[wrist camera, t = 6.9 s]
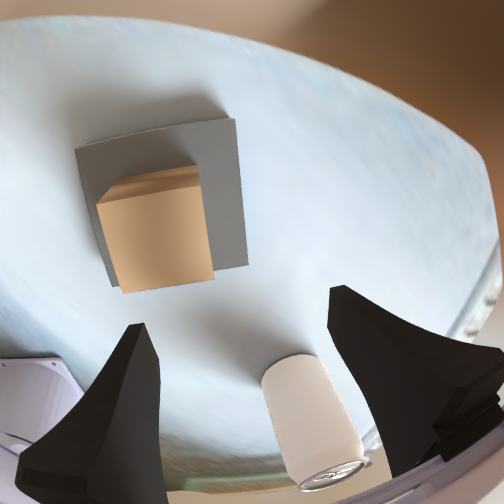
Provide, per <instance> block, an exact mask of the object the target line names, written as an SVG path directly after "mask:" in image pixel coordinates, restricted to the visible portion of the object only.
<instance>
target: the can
mask: <svg viewBox="0 0 504 504" xmlns="http://www.w3.org/2000/svg"><path fill="white" fill-rule="evenodd" d="M261 386H262V390H263V394H264V397H265V401H266V404H267V408H268V411H269V414H270V418H271V421H272V424H273V428H274V431H275V434H276V438H277V441H278V444H279V447H280V451H281V454H282V457H283V460H284V463H285V466H286V469H287V472H288V474H289V476H290V477H291V478H292V479H293V480H294V481H295V482H296V483H297V484H298V489H299V490H300V491H315V490H320V489H324V488H327V487H330V486H333V485H336V484H338V483H341V482H343V481H345V480H347V479H349V478H351V477H353V476H354V475H356V474H357V473H358V472H360V471H361V470H362V469H363V468H364V467H365V465H366V462H365V461H364V460H363V453H364V447H363V444H362V442H361V439H360V437H359V435H358V433H357V431H356V429H355V427H354V425H353V423H352V421H351V419H350V417H349V415H348V413H347V410H346V408H345V406H344V404H343V402H342V400H341V398H340V396H339V394H338V392H337V390H336V388H335V386H334V384H333V382H332V380H331V378H330V376H329V374H328V372H327V371H326V369H325V367H324V365H323V363H322V361H321V360H320V359H319V358H317V357H315V356H311V355H308V354H295V355H291V356H287V357H285V358H282V359H280V360H278V361H277V362H275V363H274V364H272V365H271V366H270V367H269V368H268V369H267V371H266V372H265V374H264V375H263V377H262V380H261Z"/></svg>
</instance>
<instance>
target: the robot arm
mask: <svg viewBox="0 0 504 504" xmlns="http://www.w3.org/2000/svg"><path fill="white" fill-rule="evenodd" d="M327 328H328V330H329V333H330V335H331V337H332V340H333V342H334V344H335V347H336V349H337V350H338V352H339V354H340V355H341V357H342V359H343V361H344V362H345V364H346V366H347V367H348V369H349V371H350V372H351V374H352V376H353V377H354V379H355V381H356V382H357V384H358V386H359V387H360V389H361V391H362V393H363V395H364V397H365V399H366V402H367V404H368V406H369V409H370V411H371V413H372V416H373V418H374V421H375V424H376V426H377V429H378V431H379V434H380V437H381V440H382V443H383V446H384V449H385V452H386V456H387V459H388V463H389V466H390V470H391V474H392V478H393V479H392V480H390V481H388V482H385V483H383V484H381V485H378V486H376V487H374V488H372V489H369V490H367V491H364V492H362V493H359V494H356V495H354V496H351V497H348V498H346V499H343V500H340V501H337V502H334V503H331V504H384V503H386V502H389V501H391V500H393V499H395V498H397V497H399V496H401V495H403V494H405V493H407V492H409V491H411V490H413V489H414V490H413V491H412V492H410V493H409V494H407V495H405V496H404V497H402V498H400V499H398V500H396V501H395V502H393V503H391V504H477V503H479V502H480V501H481V500H482V499H483V498H485V497H486V496H487V495H488V494H489V493H490V492H492V491H493V490H494V489H495V488H496V487H497V486H498V485H499V484H500V483H501V482H502V481H504V405H503V406H502V407H500V406H499V404H498V402H499V401H500V397H499V396H498V395H497V391H498V390H499V389H500V387H501V386H502V385H503V383H504V352H503V351H502V350H501V349H500V348H495V347H488V346H480V345H474V344H470V343H465V342H461V341H457V340H454V339H450V338H447V337H444V336H441V335H438V334H435V333H432V332H430V331H427V330H425V329H423V328H420V327H418V326H416V325H413V324H411V323H409V322H407V321H405V320H403V319H401V318H399V317H397V316H396V315H394V314H392V313H390V312H388V311H387V310H385V309H383V308H381V307H380V306H378V305H376V304H375V303H373V302H372V301H370V300H368V299H367V298H365V297H363V296H362V295H360V294H359V293H357V292H355V291H354V290H352V289H350V288H349V287H347V286H345V285H341V286H336V287H332V288H330V295H329V310H328V322H327ZM160 384H161V381H160V366H159V358H158V356H157V354H156V351H155V349H154V347H153V344H152V342H151V339H150V337H149V334H148V332H147V329H146V327H145V324H144V323H139V324H132V325H129V326H128V327H127V329H126V331H125V332H124V334H123V335H122V337H121V339H120V341H119V342H118V344H117V346H116V347H115V349H114V351H113V352H112V354H111V356H110V357H109V359H108V360H107V362H106V364H105V365H104V367H103V368H102V370H101V371H100V373H99V374H98V376H97V377H96V379H95V380H94V382H93V383H92V385H91V386H90V387H89V389H88V390H87V391H86V393H84V392H83V390H82V389H81V387H80V386H79V384H78V383H77V382H76V380H75V379H74V377H73V376H72V374H71V373H70V371H69V370H68V368H67V366H66V365H65V363H64V362H63V360H62V359H60V358H57V357H56V358H32V359H0V504H169V503H168V498H167V493H166V488H165V483H164V477H163V471H162V464H161V456H160V447H159V406H160Z"/></svg>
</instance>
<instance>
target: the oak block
mask: <svg viewBox="0 0 504 504" xmlns="http://www.w3.org/2000/svg"><path fill="white" fill-rule="evenodd" d="M96 206H97V210H98V214H99V218H100V221H101V225H102V229H103V233H104V236H105V240H106V243H107V247H108V250H109V253H110V257H111V260H112V263H113V266H114V269H115V272H116V275H117V278H118V281H119V284H120V287H121V290H122V293H123V294H124V293H131V292H138V291H144V290H151V289H157V288H164V287H170V286H177V285H183V284H189V283H196V282H202V281H208V280H214V273H213V267H212V261H211V255H210V248H209V242H208V235H207V228H206V222H205V215H204V208H203V200H202V193H201V186H200V179H199V172H198V166H197V165H192V166H186V167H180V168H174V169H168V170H162V171H156V172H151V173H146V174H140V175H135V176H130V177H125V178H120V179H118V180H117V181H116V182H115V183H114V184H113V185H112V186H111V188H110V189H109V190H108V191H107V192H106V193H105V195H104V196H103V197H102V198H101V199H100V201H99V202H98V203H97V204H96Z"/></svg>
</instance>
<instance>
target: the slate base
mask: <svg viewBox="0 0 504 504" xmlns="http://www.w3.org/2000/svg"><path fill="white" fill-rule="evenodd" d="M75 153H76V158H77V163H78V168H79V173H80V177H81V182H82V186H83V190H84V195H85V199H86V203H87V207H88V210H89V214H90V218H91V222H92V225H93V229H94V232H95V236H96V239H97V242H98V246H99V249H100V252H101V255H102V258H103V262H104V265H105V268H106V271H107V274H108V277H109V279H110V282H111V285H112V287H116V286H120V284H119V281H118V278H117V275H116V272H115V269H114V266H113V263H112V260H111V257H110V253H109V250H108V247H107V243H106V240H105V236H104V233H103V229H102V225H101V221H100V218H99V214H98V210H97V206H96V204H97V203H98V202H99V201H100V199H101V198H102V197H103V196H104V195H105V193H106V192H107V191H108V190H109V189H110V188H111V186H112V185H113V184H114V183H115V182H116V181H117V180H118V179H120V178H125V177H130V176H135V175H140V174H146V173H151V172H156V171H162V170H168V169H174V168H180V167H186V166H192V165H197V166H198V172H199V179H200V186H201V193H202V200H203V208H204V215H205V222H206V228H207V235H208V242H209V248H210V255H211V261H212V267H213V271H216V270H222V269H228V268H234V267H240V266H246V265H249V263H248V253H247V242H246V232H245V221H244V211H243V200H242V189H241V178H240V168H239V157H238V146H237V135H236V124H235V119H234V118H221V119H213V120H205V121H198V122H191V123H184V124H178V125H172V126H166V127H160V128H155V129H150V130H144V131H139V132H135V133H130V134H125V135H121V136H116V137H112V138H108V139H104V140H100V141H96V142H92V143H88V144H85V145H83V146H81V147H78V148H76V149H75Z"/></svg>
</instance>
